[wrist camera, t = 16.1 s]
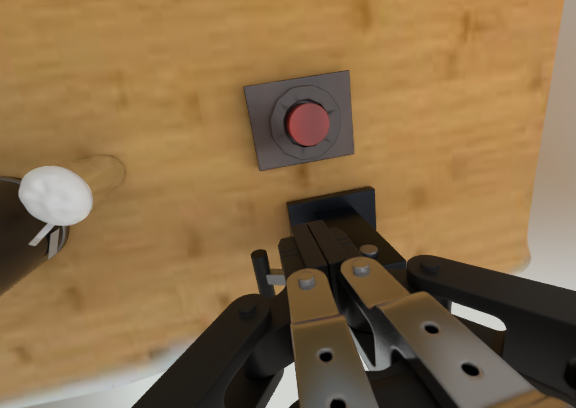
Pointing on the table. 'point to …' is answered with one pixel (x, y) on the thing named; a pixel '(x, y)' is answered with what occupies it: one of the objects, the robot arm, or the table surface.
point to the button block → (277, 105)
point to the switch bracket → (349, 222)
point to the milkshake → (69, 190)
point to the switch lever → (266, 274)
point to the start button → (308, 124)
